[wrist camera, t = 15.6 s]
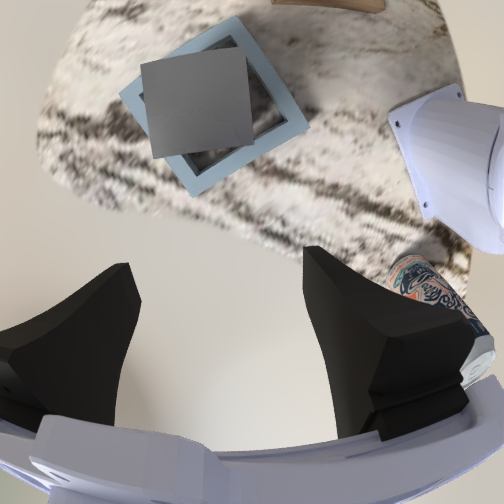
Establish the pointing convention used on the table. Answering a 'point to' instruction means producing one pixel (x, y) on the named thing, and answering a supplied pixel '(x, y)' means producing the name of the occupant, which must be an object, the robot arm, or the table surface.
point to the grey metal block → (198, 102)
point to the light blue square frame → (263, 142)
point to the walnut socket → (340, 4)
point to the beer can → (442, 294)
